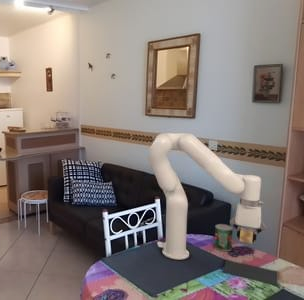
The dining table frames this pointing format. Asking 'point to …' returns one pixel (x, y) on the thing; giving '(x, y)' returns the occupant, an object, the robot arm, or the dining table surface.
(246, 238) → the block
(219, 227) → the canned tomato
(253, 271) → the mat
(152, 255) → the dining table surface
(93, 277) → the dining table surface
